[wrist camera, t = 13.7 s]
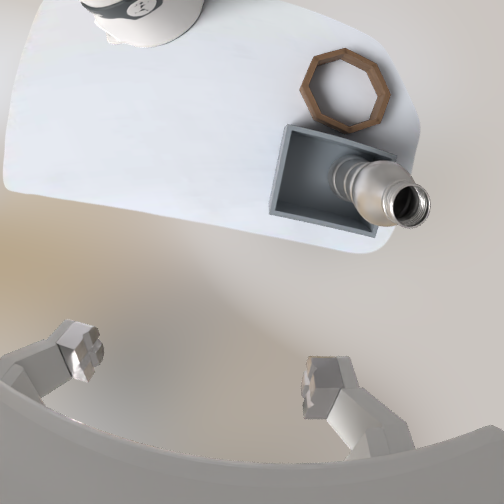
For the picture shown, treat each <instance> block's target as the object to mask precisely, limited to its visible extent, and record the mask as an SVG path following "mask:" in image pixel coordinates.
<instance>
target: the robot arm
mask: <svg viewBox="0 0 504 504" xmlns="http://www.w3.org/2000/svg"><path fill="white" fill-rule="evenodd" d="M79 1H81V4H82V5H83V6H84V7H85V8H86V9H87V10H88V11H89V12H91V13H92V14H94V16H95V24H96V25H97V26H99V27H100V28H101V29H103V30H104V31H106V36H107V41H108V42H109V43H110V44H112V45H118V44H129V45H132V46H135V47H140V48H149V47H156V46H159V45H163V44H165V43H168V42H170V41H172V40H174V39H176V38H177V37H179V36H180V35H182V34H183V33H184V32H186V31H187V30H188V29H189V28H190V27H191V26H192V25H193V24H194V22H195V21H196V20H197V18H198V16H199V15H200V12H201V10H202V6H203V3H204V0H79ZM99 336H100V334H99V330H98V328H96V327H95V326H91V325H88V324H84V323H81V322H77V321H73V320H70V319H66V320H64V321H63V322H62V323H61V324H60V325H59V327H58V328H57V329H56V330H55V331H54V332H53V333H52V334H51V335H50V336H49V337H48V339H47V340H44V339H43V340H41V341H38V342H36V343H33V344H31V345H28V346H26V347H23V348H20V349H18V350H15V351H13V352H10V353H8V354H5V355H3V356H2V357H1V358H0V504H504V431H503V430H501V429H499V428H497V427H495V426H493V425H491V426H490V425H489V426H485V427H482V428H480V429H477V430H475V431H472V432H470V433H467V434H464V435H461V436H458V437H456V438H452V439H449V440H446V441H443V442H440V443H436V444H433V445H429V446H425V447H422V448H418V449H415V446H414V443H413V440H412V437H411V434H410V431H409V429H408V426H407V423H406V422H405V421H404V420H403V419H401V418H400V417H399V416H397V415H396V414H395V413H394V412H392V411H391V410H390V409H389V408H387V407H386V406H385V405H384V404H383V403H381V402H380V401H379V400H378V399H376V398H375V397H374V396H373V395H371V394H370V393H369V392H368V391H367V390H365V389H364V388H359V384H358V381H357V378H356V375H355V372H354V369H353V365H352V362H351V359H350V357H348V356H339V357H338V356H336V357H323V356H322V357H321V356H309V357H308V359H307V363H306V367H307V370H306V371H305V372H304V373H303V377H302V384H301V393H302V397H303V398H304V402H303V415H304V419H327V421H328V423H329V424H330V425H331V427H332V428H333V429H334V430H335V431H336V432H337V434H338V435H339V436H340V437H341V439H342V440H343V441H344V442H345V443H346V445H347V446H348V447H349V448H350V449H351V452H350V453H349V455H348V456H347V457H346V458H345V460H344V461H338V462H325V463H300V464H299V463H297V464H285V463H282V464H281V463H256V462H242V461H232V460H224V459H216V458H209V457H203V456H197V455H191V454H186V453H181V452H175V451H171V450H167V449H162V448H158V447H154V446H150V445H146V444H143V443H139V442H136V441H132V440H129V439H125V438H122V437H119V436H116V435H113V434H110V433H107V432H104V431H102V430H99V429H96V428H94V427H91V426H88V425H86V424H83V423H81V422H78V421H76V420H74V419H71V418H69V417H67V416H65V415H63V414H61V413H58V412H56V411H54V410H52V409H50V408H48V407H46V406H45V404H44V402H43V401H42V399H41V398H42V397H44V396H45V395H47V394H49V393H50V392H52V391H53V390H55V389H56V388H58V387H59V386H61V385H63V384H64V383H66V382H67V381H69V380H70V379H72V378H75V379H78V380H81V381H84V382H87V383H88V382H89V380H90V379H91V377H92V376H93V374H94V373H95V370H94V367H96V366H98V365H100V363H101V362H102V360H103V356H104V347H103V344H102V342H101V341H100V340H99V339H98V338H99Z"/></svg>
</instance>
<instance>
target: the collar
mask: <svg viewBox="0 0 504 504" xmlns="http://www.w3.org/2000/svg"><path fill="white" fill-rule="evenodd" d="M339 59H341V60H343V61H346V62H348V63H350V64H352V65H354V66H356V67H358V68H360V69H362V70H364V71H366V72H367V74H368V77H369V79H370V81H371V83H372V85H373V87H374V89H375V92H376V94H377V96H378V97H377V100H376V103H375V105H374V108H373V111H372V113H371V116H370V118H369V120H367V121H364V122H361V123H358V124H355V125H352V126H347V125H345V124H343V123H341V122H338V121H336V120H334V119H332V118H330V117H328V116H326V115H323V114H321V111H320V109H319V107H318V105H317V103H316V101H315V99H314V96H313V94H312V92H311V90H310V88H309V83H310V81H311V78H312V76H313V73H314V71H315V69H316V66H319V65H322V64H325V63H329V62H332V61H336V60H339ZM300 92H301V94H302V96H303V99H304V101H305V103H306V105H307V107H308V109H309V111H310V113H311V116H312V118H313V120H315V121H317V122H319V123H322V124H324V125H326V126H328V127H330V128H333V129H335V130H337V131H339V132H341V133H343V134H349V133H353V132H356V131H359V130H361V129H364V128H367V127H370V126H373V125H376V124H380V123H381V120H382V118H383V115H384V112H385V109H386V107H387V104H388V101H389V98H390V96H391V94H390V91H389V89H388V87H387V85H386V82H385V80H384V78H383V76H382V74H381V72H380V70H379V68H378V66H377V64H376V63H374V62H372V61H370V60H368V59H367V58H365V57H363V56H361V55H359V54H357V53H355V52H353V51H351V50H348V49H346V48H343V49H339V50H335V51H332V52H328V53H324V54H321V55H317V56H314V57H313V59H312V61H311V63H310V66H309V68H308V70H307V73H306V75H305V78H304V80H303V82H302V85H301V87H300Z"/></svg>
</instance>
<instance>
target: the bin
mask: <svg viewBox="0 0 504 504" xmlns="http://www.w3.org/2000/svg"><path fill="white" fill-rule="evenodd" d="M345 155H358V156H360V157H362V158H364V159H366V160H367V161H369V162H374V161H392V162H396V158H397V155H394V154H391V153H388V152H385V151H382V150H380V149H377V148H374V147H371V146H367V145H364V144H361V143H358V142H355V141H351V140H348V139H345V138H341V137H338V136H334V135H330V134H327V133H323V132H319V131H315V130H311V129H307V128H303V127H298V126H294V125H289V124H287V125H286V127H285V128H284V132H283V137H282V142H281V147H280V152H279V157H278V162H277V167H276V171H275V176H274V181H273V186H272V191H271V196H270V200H269V214H270V215H275V216H280V217H285V218H289V219H294V220H299V221H303V222H308V223H313V224H317V225H322V226H326V227H331V228H335V229H339V230H344V231H348V232H352V233H356V234H361V235H365V236H369V237H373V238H375V236H376V233H377V229H378V226H376V225H374V224H371V223H370V222H368V221H366V220H365V219H364V218H363V217H362V216H361V215H360V214H359V212H358V211H357V209H356V208H355V206H354V204H353V203H352V202H347V201H344V200H342V199H340V198H338V197H337V196H336V195H335V194H334V193H333V192H332V190H331V188H330V186H329V182H328V171H329V169H330V167H331V165H332V164H333V162H334V161H335V160H337V159H338V158H340V157H342V156H345Z"/></svg>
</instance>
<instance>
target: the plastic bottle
mask: <svg viewBox="0 0 504 504" xmlns="http://www.w3.org/2000/svg"><path fill="white" fill-rule="evenodd" d="M328 182H329V186H330V188H331V190H332V192H333V193H334V194H335V195H336V196H337V197H338V198H340V199H342V200H344V201H347V202H352V203H353V204H354V206H355V208H356V209H357V211H358V212H359V214H360V215H361V216H362V217H363V218H364V219H365V220H366V221H368V222H370V223H371V224H374V225H376V226H383V227H389V226H395V225H400V226H402V227H405V228H415V227H418V226H420V225H421V224H422V223H423V222H424V221H425V220H426V219H427V217H428V215H429V212H430V207H431V206H430V205H431V203H430V198H429V195H428V193H427V192H426V190H425V189H424V188H422V187H421V186H420V185H418V184H415V182H414V180H413V178H412V176H411V175H410V174H409V173H408V172H407V170H406V169H405V168H404V167H402V166H401V165H399V164H397V163H395V162H392V161H374V162H369V161H367V160H366V159H364V158H362V157H360V156H358V155H345V156H342V157H340V158H338V159H337V160H335V161H334V162H333V164H332V165H331V167H330V169H329V171H328Z"/></svg>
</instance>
